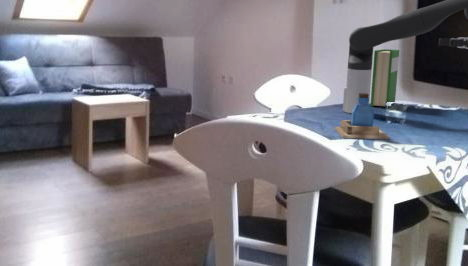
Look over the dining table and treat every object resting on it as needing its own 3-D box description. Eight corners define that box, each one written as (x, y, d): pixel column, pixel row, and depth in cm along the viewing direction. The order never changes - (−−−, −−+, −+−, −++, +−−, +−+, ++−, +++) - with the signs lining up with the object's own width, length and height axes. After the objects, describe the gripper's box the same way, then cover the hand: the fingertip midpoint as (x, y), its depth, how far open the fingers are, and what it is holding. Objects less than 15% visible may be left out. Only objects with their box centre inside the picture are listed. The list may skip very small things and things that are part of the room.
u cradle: (343, 138, 153) (343, 127, 152) (334, 129, 167) (335, 119, 166) (389, 139, 153) (390, 128, 152) (376, 129, 167) (377, 120, 166)
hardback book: (387, 108, 214) (392, 51, 209) (370, 106, 217) (374, 50, 212) (394, 103, 230) (399, 49, 225) (378, 101, 233) (382, 49, 228)
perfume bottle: (372, 133, 156) (375, 95, 154) (351, 132, 157) (354, 94, 155) (370, 129, 162) (373, 92, 160) (350, 128, 163) (353, 92, 161)
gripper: (486, 31, 165) (436, 30, 165) (509, 31, 151) (455, 30, 151) (483, 54, 167) (434, 53, 167) (505, 57, 153) (452, 55, 153)
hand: (444, 42), depth 159 cm, fingers open, 8 cm apart
